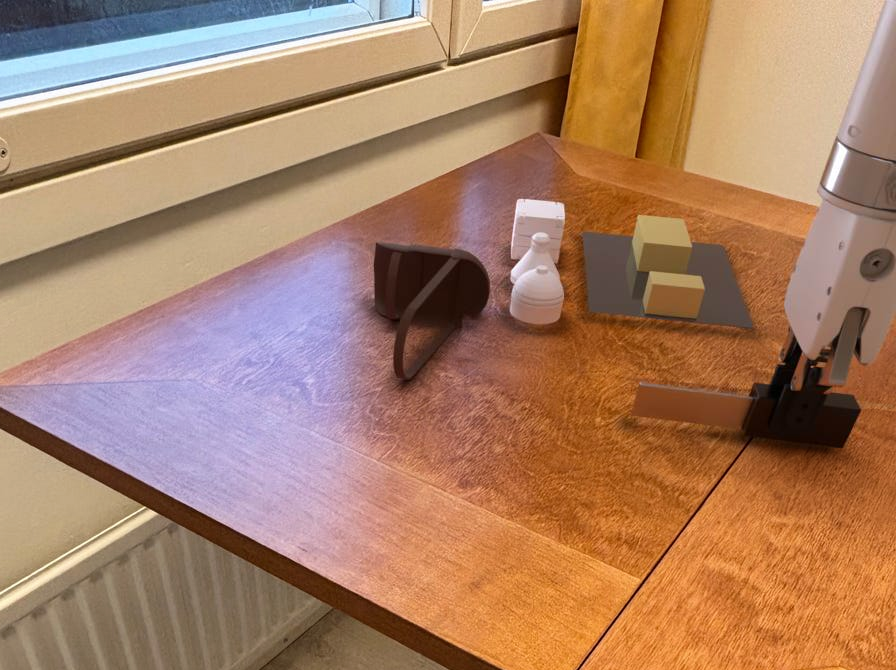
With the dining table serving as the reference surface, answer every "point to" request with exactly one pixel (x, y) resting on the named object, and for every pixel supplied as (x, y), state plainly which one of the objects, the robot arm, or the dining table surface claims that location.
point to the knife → (745, 411)
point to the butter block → (661, 244)
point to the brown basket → (427, 292)
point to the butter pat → (673, 294)
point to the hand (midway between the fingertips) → (785, 421)
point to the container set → (537, 261)
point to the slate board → (623, 286)
